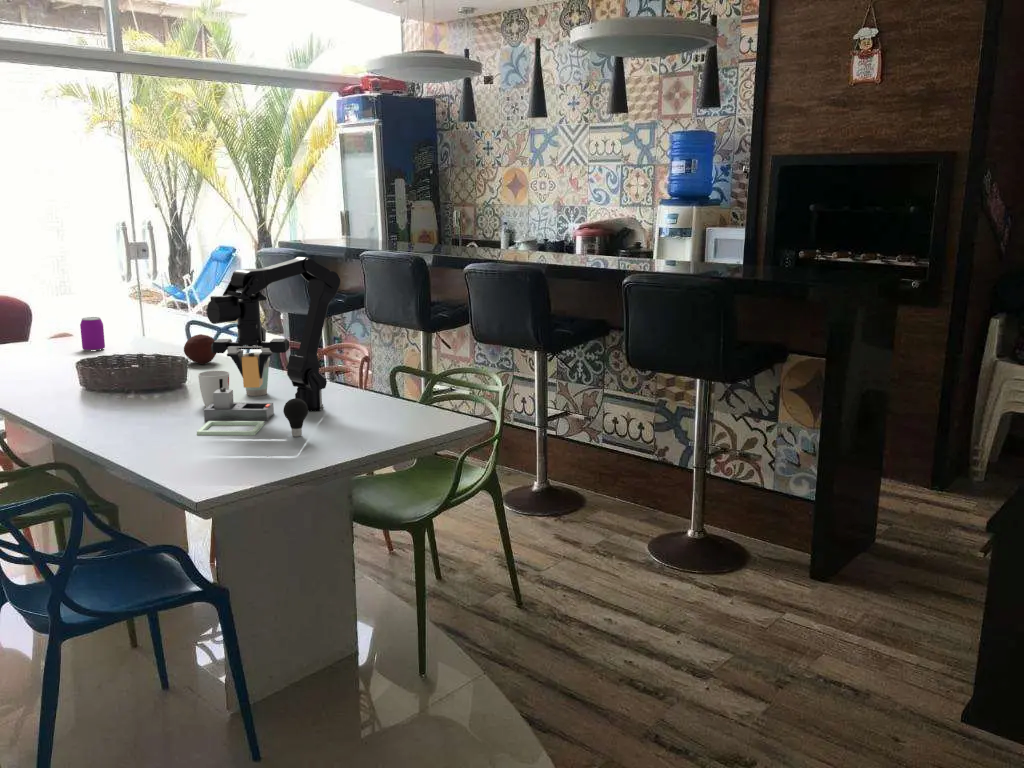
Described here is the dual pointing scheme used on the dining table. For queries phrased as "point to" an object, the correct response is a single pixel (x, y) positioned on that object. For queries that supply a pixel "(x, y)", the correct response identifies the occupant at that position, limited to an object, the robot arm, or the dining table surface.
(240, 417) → the strip
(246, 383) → the plug
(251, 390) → the coffee cup
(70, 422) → the dining table surface
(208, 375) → the cup
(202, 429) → the tray
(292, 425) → the light bulb
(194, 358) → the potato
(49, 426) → the dining table surface
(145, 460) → the dining table surface
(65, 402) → the dining table surface
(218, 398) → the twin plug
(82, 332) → the beverage can
